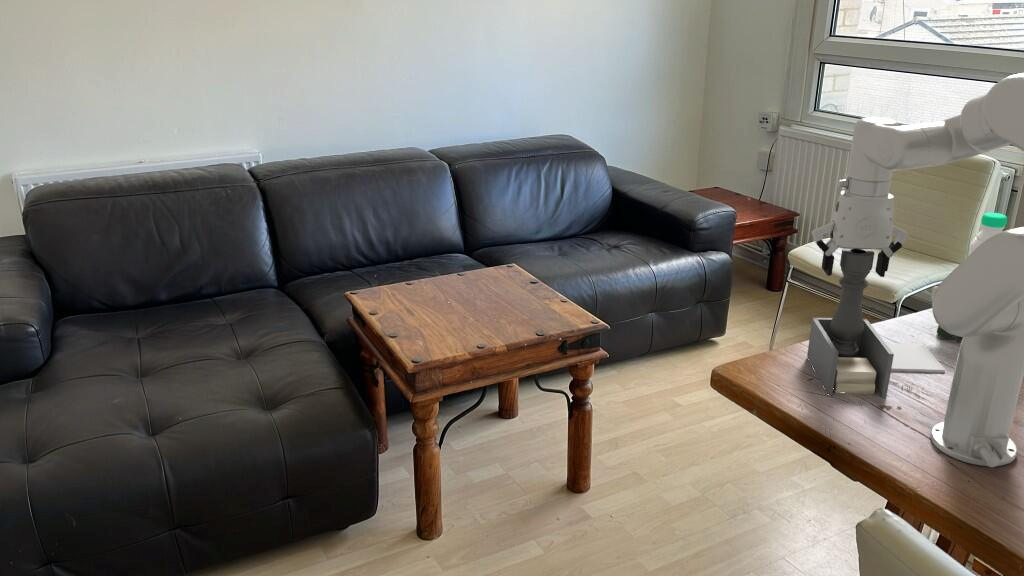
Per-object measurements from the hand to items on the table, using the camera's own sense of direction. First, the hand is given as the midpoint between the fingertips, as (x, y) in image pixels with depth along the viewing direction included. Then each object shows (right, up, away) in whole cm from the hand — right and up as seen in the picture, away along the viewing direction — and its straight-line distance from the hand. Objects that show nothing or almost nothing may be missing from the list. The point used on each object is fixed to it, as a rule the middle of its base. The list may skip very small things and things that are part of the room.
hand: (853, 273), depth 155 cm
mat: (+15, -17, +11) cm, 25 cm away
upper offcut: (0, -20, 0) cm, 20 cm away
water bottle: (+39, -10, +28) cm, 49 cm away
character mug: (+30, -14, +20) cm, 39 cm away
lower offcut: (0, -22, +1) cm, 22 cm away
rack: (0, -20, +4) cm, 21 cm away
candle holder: (0, -19, +7) cm, 21 cm away
